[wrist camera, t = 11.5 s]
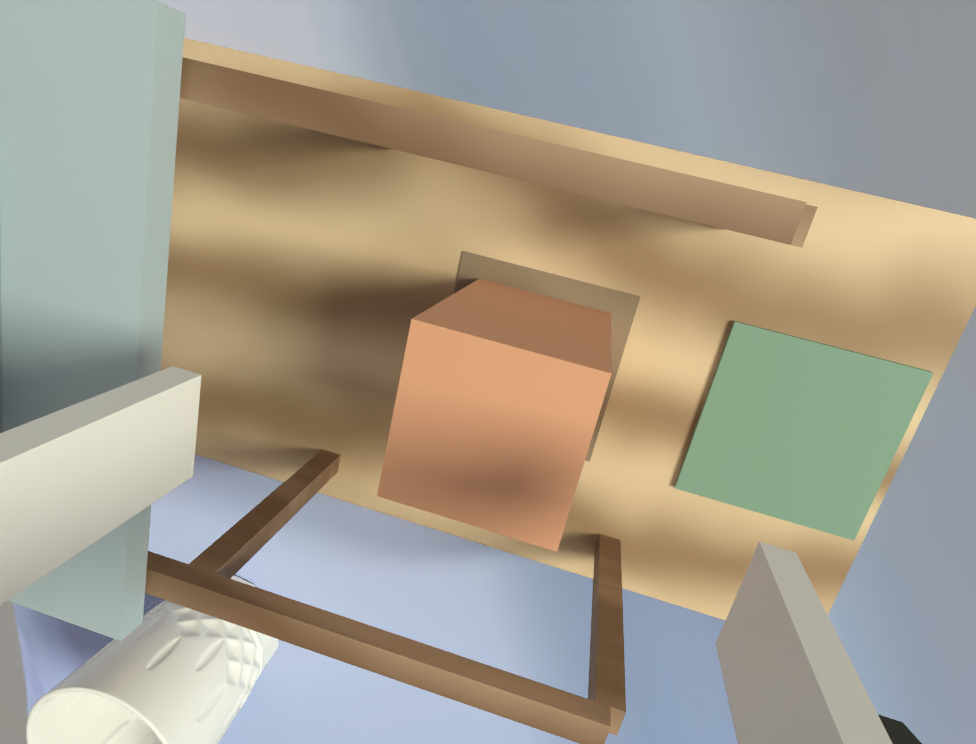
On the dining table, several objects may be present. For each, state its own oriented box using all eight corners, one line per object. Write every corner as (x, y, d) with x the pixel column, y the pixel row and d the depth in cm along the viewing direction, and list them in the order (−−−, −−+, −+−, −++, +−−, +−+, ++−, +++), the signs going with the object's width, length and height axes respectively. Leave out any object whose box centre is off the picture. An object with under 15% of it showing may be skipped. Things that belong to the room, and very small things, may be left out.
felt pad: (851, 537, 28) (854, 540, 27) (674, 485, 29) (674, 488, 28) (929, 371, 25) (933, 372, 25) (733, 320, 26) (734, 321, 26)
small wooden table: (804, 630, 31) (929, 906, 19) (120, 418, 35) (-135, 530, 23) (994, 226, 25) (1357, 249, 13) (139, 30, 29) (-191, -90, 17)
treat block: (574, 436, 29) (556, 551, 19) (451, 401, 29) (376, 495, 20) (611, 313, 27) (611, 373, 18) (479, 278, 28) (411, 318, 18)
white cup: (171, 547, 37) (19, 667, 27) (294, 580, 36) (180, 717, 26) (171, 655, 39) (30, 801, 30) (287, 689, 38) (179, 851, 28)
